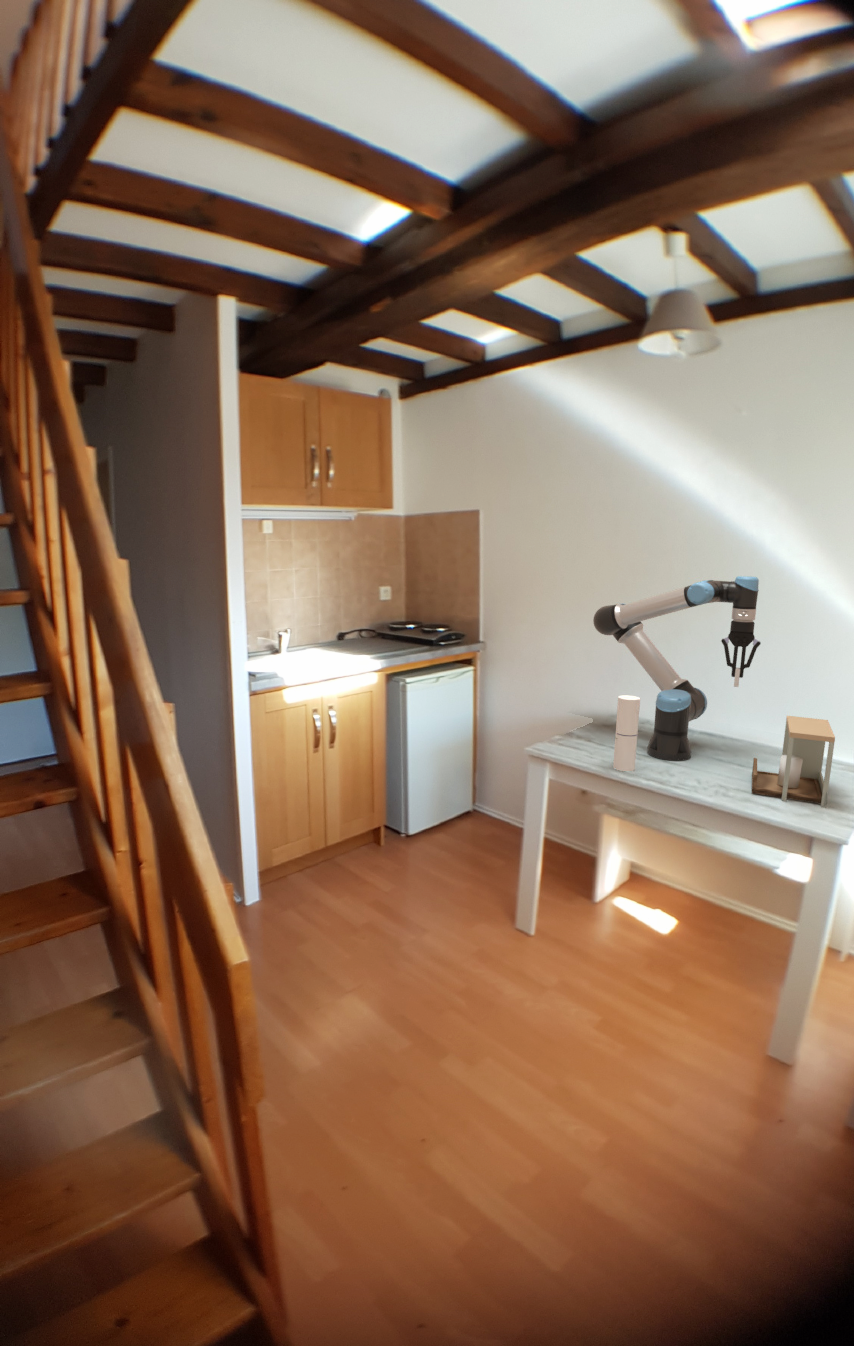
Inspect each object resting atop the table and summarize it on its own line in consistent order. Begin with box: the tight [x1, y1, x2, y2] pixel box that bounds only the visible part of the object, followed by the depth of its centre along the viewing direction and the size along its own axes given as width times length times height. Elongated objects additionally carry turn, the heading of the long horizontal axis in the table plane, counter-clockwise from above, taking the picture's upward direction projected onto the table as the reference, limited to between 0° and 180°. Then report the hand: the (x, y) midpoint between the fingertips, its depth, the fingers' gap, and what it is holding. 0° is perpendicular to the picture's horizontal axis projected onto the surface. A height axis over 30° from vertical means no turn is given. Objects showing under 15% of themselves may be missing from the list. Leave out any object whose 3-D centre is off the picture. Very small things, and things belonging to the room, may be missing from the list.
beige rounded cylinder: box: [777, 754, 803, 788], centre depth 212 cm, size 6×6×9 cm
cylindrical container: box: [612, 694, 641, 772], centre depth 229 cm, size 7×7×25 cm
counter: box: [781, 715, 836, 809], centre depth 210 cm, size 12×22×22 cm, turn 154°
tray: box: [751, 757, 822, 805], centre depth 213 cm, size 19×19×6 cm
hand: (736, 686), depth 241 cm, fingers closed
